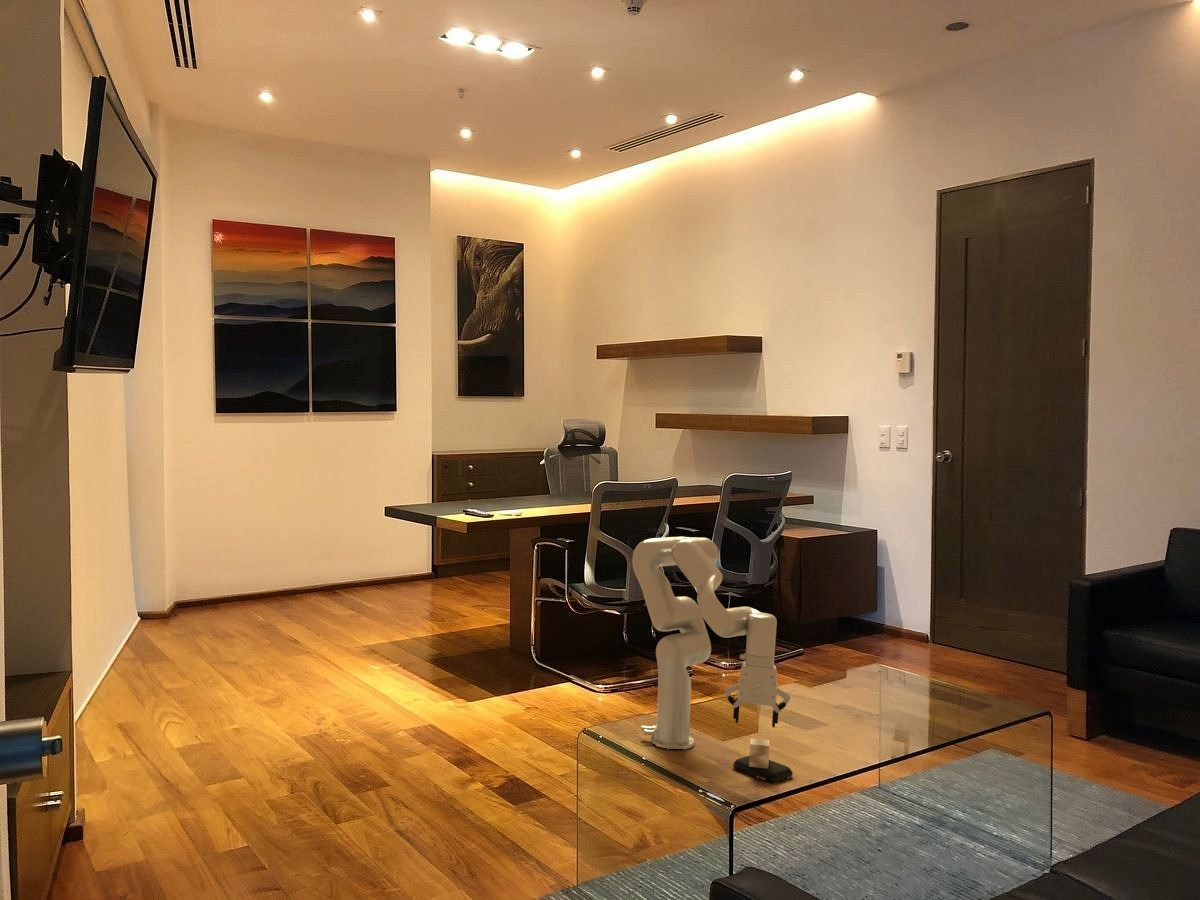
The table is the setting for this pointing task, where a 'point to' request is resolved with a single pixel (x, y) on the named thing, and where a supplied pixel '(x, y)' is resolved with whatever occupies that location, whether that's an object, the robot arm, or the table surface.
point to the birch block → (759, 753)
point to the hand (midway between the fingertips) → (755, 723)
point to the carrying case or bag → (763, 770)
